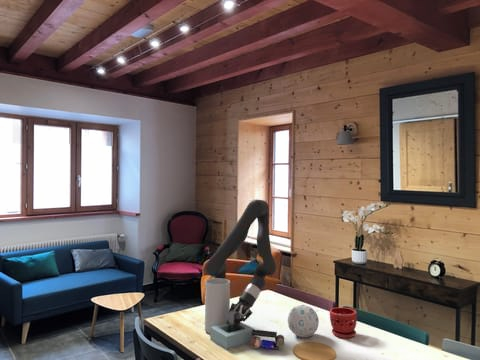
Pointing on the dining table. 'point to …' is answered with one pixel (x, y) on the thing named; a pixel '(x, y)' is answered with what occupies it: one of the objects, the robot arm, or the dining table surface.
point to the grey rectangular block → (232, 321)
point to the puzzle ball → (303, 321)
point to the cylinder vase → (216, 302)
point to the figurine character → (266, 343)
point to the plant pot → (343, 322)
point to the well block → (231, 336)
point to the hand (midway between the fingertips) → (231, 325)
